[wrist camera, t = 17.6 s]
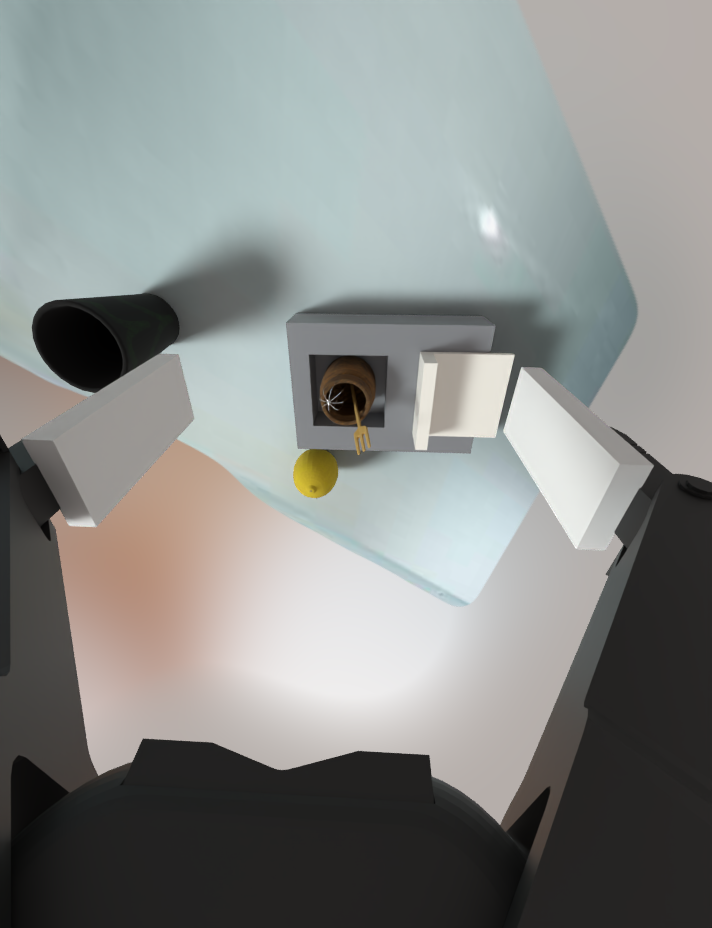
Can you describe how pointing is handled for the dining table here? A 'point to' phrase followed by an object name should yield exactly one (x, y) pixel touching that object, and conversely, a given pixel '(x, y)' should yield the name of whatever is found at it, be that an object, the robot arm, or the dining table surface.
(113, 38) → the dining table surface
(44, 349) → the cup
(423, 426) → the panel
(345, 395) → the utensil holder
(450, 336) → the socket block
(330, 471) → the lemon
